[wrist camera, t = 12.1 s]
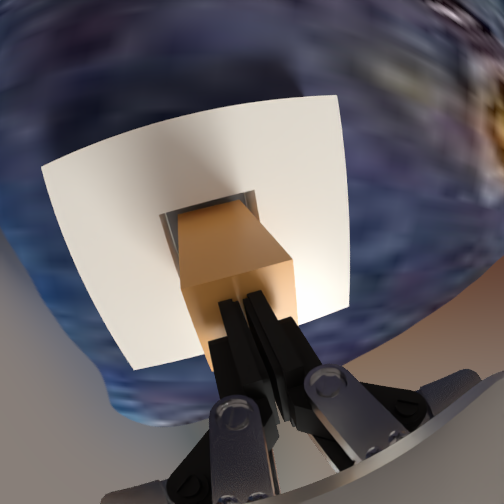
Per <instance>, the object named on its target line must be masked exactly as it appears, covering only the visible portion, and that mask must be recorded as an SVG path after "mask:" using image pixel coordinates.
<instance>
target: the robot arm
mask: <svg viewBox="0 0 504 504" xmlns="http://www.w3.org/2000/svg"><path fill="white" fill-rule="evenodd" d="M243 304H244V308H245V312H246V316H247V320H248V324H249V326H248V324H247V321H246V319H245V316H244V314H243V311H242V309H241V306H240V303H239V301H235V302H233V301H232V298H231V299H228V300H224V301H220V302H218V306H219V309H220V313H221V316H222V320H223V323H224V327H225V330H226V334H227V336H225V337H222V338H218V339H214V340H211V341H208V346H209V351H210V356H211V361H212V365H213V370H214V374H215V379H216V383H217V388H218V392H219V396H220V400H219V401H218V402H217V403H216V404H214V405H213V407H212V409H211V411H210V415H209V430H208V431H207V432H206V433H205V435H204V436H203V437H202V438H201V440H200V441H199V442H198V443H197V445H196V446H195V447H194V448H193V449H192V451H191V452H190V453H189V454H188V455H187V457H186V458H185V459H184V460H183V461H182V463H181V464H180V465H179V466H178V467H177V468H176V470H175V471H174V472H173V473H172V474H171V476H170V477H169V478H168V479H166V480H162V481H159V480H155V481H152V482H149V483H145V484H141V485H138V486H134V487H131V488H127V489H122V490H118V491H113V492H110V493H108V494H106V495H105V496H104V497H103V498H102V499H101V503H100V504H504V371H501V372H498V373H495V374H493V375H491V376H489V377H487V378H486V379H484V380H481V378H480V377H479V375H478V374H477V373H476V372H474V371H472V370H470V369H463V370H459V371H457V372H455V373H453V374H451V375H448V376H447V377H444V378H442V379H440V380H437V381H434V382H432V383H429V384H427V385H424V386H422V387H420V389H419V390H417V391H411V390H406V389H398V388H392V387H386V386H379V385H374V384H368V383H363V382H359V381H358V380H357V379H356V378H355V377H354V376H353V375H352V374H351V373H350V372H349V371H348V370H346V369H345V368H344V367H342V366H339V365H336V364H324V365H322V363H321V362H320V360H319V358H318V357H317V355H316V354H315V352H314V351H313V349H312V347H311V346H310V344H309V343H308V341H307V339H306V338H305V336H304V335H303V333H302V332H301V330H300V328H299V327H298V325H297V324H296V322H295V320H294V319H293V318H292V317H291V316H290V317H287V318H284V319H281V320H278V319H277V317H276V316H275V314H274V312H273V310H272V308H271V307H270V305H269V303H268V301H267V299H266V298H265V296H264V294H263V292H262V290H258V291H255V292H252V293H248V294H247V298H245V299H243ZM249 328H250V329H249ZM275 401H276V403H277V406H278V408H279V410H280V413H281V415H282V418H283V420H284V422H286V421H289V420H290V422H291V424H292V426H293V427H295V426H296V428H297V430H298V431H301V432H305V433H307V434H308V435H309V437H310V439H311V440H312V441H313V443H314V444H315V446H316V447H317V448H318V450H319V451H320V452H321V454H322V455H323V456H324V458H325V459H326V460H327V462H328V463H329V464H330V466H331V467H332V468H333V470H334V471H335V472H336V474H334V475H332V476H330V477H327V478H325V479H322V480H320V481H317V482H315V483H312V484H309V485H307V486H304V487H301V488H298V489H295V490H292V491H289V492H286V493H283V494H281V490H280V485H279V480H278V474H277V469H276V463H275V459H274V453H273V446H274V444H275V443H276V441H277V440H278V438H279V434H278V430H277V426H276V425H277V424H280V421H279V417H278V412H277V408H276V404H275Z"/></svg>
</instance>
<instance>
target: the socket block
mask: <svg viewBox="0 0 504 504" xmlns="http://www.w3.org/2000/svg"><path fill="white" fill-rule="evenodd" d="M41 168H42V172H43V176H44V180H45V183H46V187H47V190H48V193H49V196H50V200H51V203H52V206H53V209H54V212H55V215H56V217H57V220H58V223H59V226H60V228H61V231H62V234H63V236H64V239H65V241H66V244H67V246H68V249H69V251H70V254H71V256H72V258H73V261H74V263H75V265H76V267H77V270H78V272H79V274H80V276H81V278H82V280H83V282H84V284H85V286H86V289H87V291H88V293H89V295H90V297H91V298H92V300H93V302H94V304H95V306H96V308H97V310H98V312H99V314H100V315H101V317H102V319H103V321H104V323H105V324H106V326H107V328H108V330H109V331H110V333H111V335H112V336H113V338H114V340H115V341H116V343H117V345H118V346H119V348H120V349H121V351H122V353H123V354H124V356H125V357H126V359H127V360H128V362H129V363H130V365H131V366H132V368H133V369H134V370H137V369H142V368H146V367H151V366H156V365H160V364H165V363H169V362H174V361H178V360H182V359H186V358H190V357H194V356H198V355H202V354H205V353H204V351H203V348H202V346H201V343H200V341H199V338H198V336H197V333H196V330H195V328H194V325H193V322H192V320H191V317H190V314H189V312H188V309H187V306H186V303H185V300H184V298H183V295H182V292H181V287H180V270H179V246H178V214H182V213H186V212H190V211H194V210H198V209H202V208H206V207H210V206H214V205H218V204H222V203H227V202H231V201H235V200H240V201H241V202H242V203H243V204H244V205H245V206H246V207H247V208H248V209H249V211H250V212H251V213H252V214H253V215H254V216H255V217H256V218H257V219H258V221H259V222H260V223H261V224H262V225H263V226H264V227H265V228H266V229H267V231H268V232H269V233H270V234H271V235H272V236H273V237H274V238H275V240H276V241H277V242H278V243H279V244H280V245H281V246H282V247H283V249H284V250H285V251H286V252H287V253H288V254H289V255H290V257H291V258H292V259H293V265H294V276H295V288H296V300H297V313H298V325H300V324H303V323H306V322H309V321H311V320H314V319H317V318H320V317H322V316H325V315H328V314H330V313H333V312H336V311H338V310H341V309H343V308H346V307H348V306H349V283H350V238H349V208H348V191H347V177H346V165H345V154H344V144H343V136H342V127H341V120H340V113H339V106H338V99H337V95H329V96H309V97H296V98H285V99H275V100H267V101H259V102H252V103H245V104H239V105H233V106H227V107H222V108H217V109H212V110H207V111H202V112H197V113H193V114H189V115H184V116H180V117H176V118H172V119H169V120H165V121H161V122H158V123H154V124H151V125H147V126H144V127H141V128H137V129H134V130H131V131H128V132H125V133H122V134H119V135H116V136H113V137H111V138H108V139H105V140H102V141H100V142H97V143H95V144H92V145H89V146H87V147H84V148H82V149H80V150H77V151H75V152H73V153H70V154H68V155H66V156H63V157H61V158H59V159H57V160H55V161H53V162H50V163H48V164H46V165H44V166H42V167H41Z"/></svg>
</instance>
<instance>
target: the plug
mask: <svg viewBox="0 0 504 504" xmlns="http://www.w3.org/2000/svg"><path fill="white" fill-rule="evenodd" d="M178 246H179V270H180V287H181V292H182V295H183V298H184V300H185V303H186V306H187V309H188V312H189V314H190V317H191V320H192V322H193V325H194V328H195V330H196V333H197V336H198V338H199V341H200V343H201V346H202V348H203V351H204V353H205V356H206V358H207V361H208V363H209V366H210V368H211V371H214V370H213V365H212V361H211V356H210V351H209V346H208V341H211V340H214V339H218V338H222V337H225V336H227V334H226V330H225V327H224V323H223V320H222V316H221V313H220V309H219V306H218V302H220V301H224V300H228V299H231V298H232V301H233V302H235V301H239V303H240V306H241V309H242V311H243V314H244V316H245V319H246V321H247V324H248V320H247V316H246V312H245V308H244V304H243V299H245V298H247V294H248V293H252V292H255V291H258V290H262V292H263V294H264V296H265V298H266V299H267V301H268V303H269V305H270V307H271V308H272V310H273V312H274V314H275V316H276V317H277V319H278V320H281V319H284V318H287V317H290V316H291V317H292V318H293V319H294V320H295V322H296V324H297V325H298V313H297V300H296V288H295V276H294V265H293V259H292V258H291V257H290V255H289V254H288V253H287V252H286V251H285V250H284V249H283V247H282V246H281V245H280V244H279V243H278V242H277V241H276V240H275V238H274V237H273V236H272V235H271V234H270V233H269V232H268V231H267V229H266V228H265V227H264V226H263V225H262V224H261V223H260V222H259V221H258V219H257V218H256V217H255V216H254V215H253V214H252V213H251V212H250V211H249V209H248V208H247V207H246V206H245V205H244V204H243V203H242V202H241V201H240V200H235V201H231V202H227V203H222V204H218V205H214V206H210V207H206V208H202V209H198V210H194V211H190V212H186V213H182V214H178ZM248 326H249V324H248ZM249 329H250V328H249Z"/></svg>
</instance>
